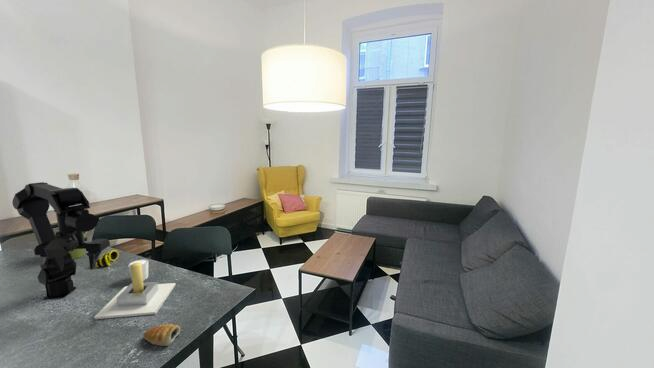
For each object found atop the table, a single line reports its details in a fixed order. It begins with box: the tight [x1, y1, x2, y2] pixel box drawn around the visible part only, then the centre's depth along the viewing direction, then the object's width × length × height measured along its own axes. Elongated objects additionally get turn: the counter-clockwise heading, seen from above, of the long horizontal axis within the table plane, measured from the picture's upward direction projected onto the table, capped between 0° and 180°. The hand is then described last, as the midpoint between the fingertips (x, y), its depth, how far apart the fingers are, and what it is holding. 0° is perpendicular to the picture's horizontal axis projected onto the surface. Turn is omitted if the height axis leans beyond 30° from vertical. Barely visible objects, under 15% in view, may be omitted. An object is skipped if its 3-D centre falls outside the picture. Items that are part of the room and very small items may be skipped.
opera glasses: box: [95, 249, 119, 268], centre depth 122 cm, size 10×5×5 cm, turn 14°
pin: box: [130, 263, 144, 293], centre depth 95 cm, size 3×3×13 cm
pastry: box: [143, 323, 181, 347], centre depth 79 cm, size 9×7×4 cm
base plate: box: [93, 282, 176, 320], centre depth 96 cm, size 18×18×1 cm
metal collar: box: [117, 281, 159, 307], centre depth 96 cm, size 9×9×4 cm
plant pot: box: [69, 231, 88, 260], centre depth 126 cm, size 12×12×11 cm
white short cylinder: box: [127, 258, 150, 282], centre depth 110 cm, size 7×7×7 cm
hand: (77, 270), depth 91 cm, fingers open, 9 cm apart
